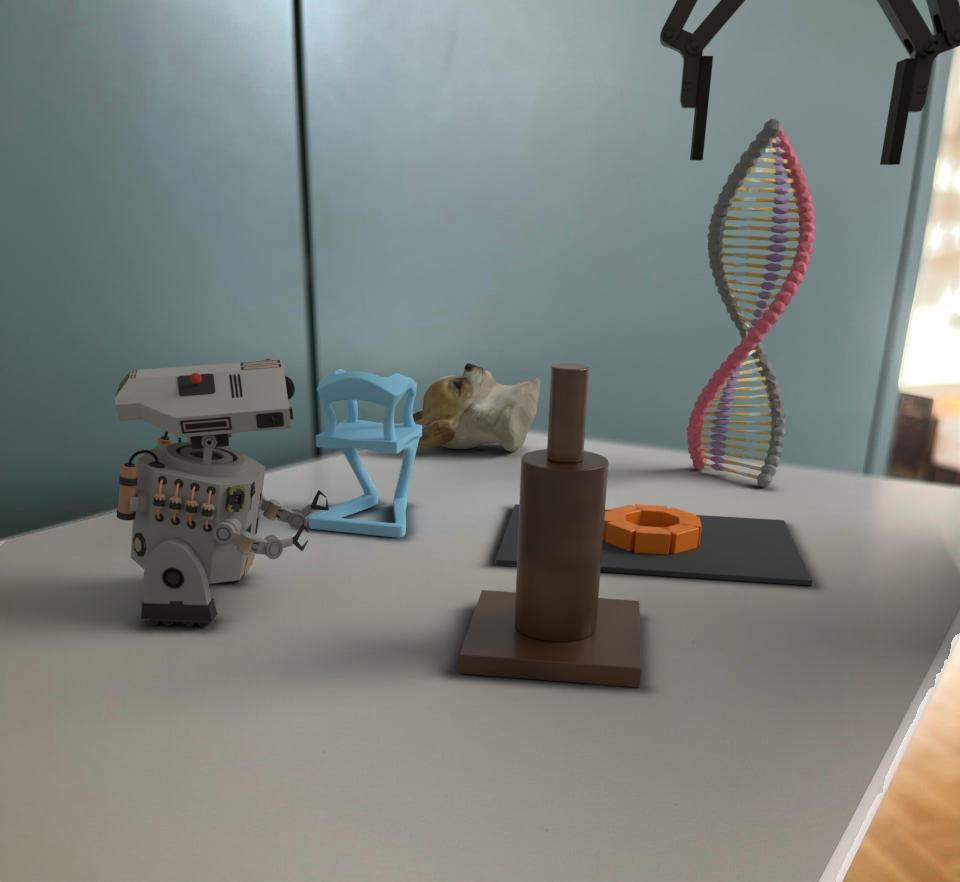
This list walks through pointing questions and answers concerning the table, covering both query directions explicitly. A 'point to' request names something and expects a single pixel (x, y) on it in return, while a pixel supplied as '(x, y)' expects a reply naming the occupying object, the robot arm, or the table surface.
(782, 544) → the rubber mat
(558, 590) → the ring stand
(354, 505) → the chair
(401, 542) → the table surface
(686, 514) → the orange ring
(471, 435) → the toy dog
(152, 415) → the figurine
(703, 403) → the dna model
